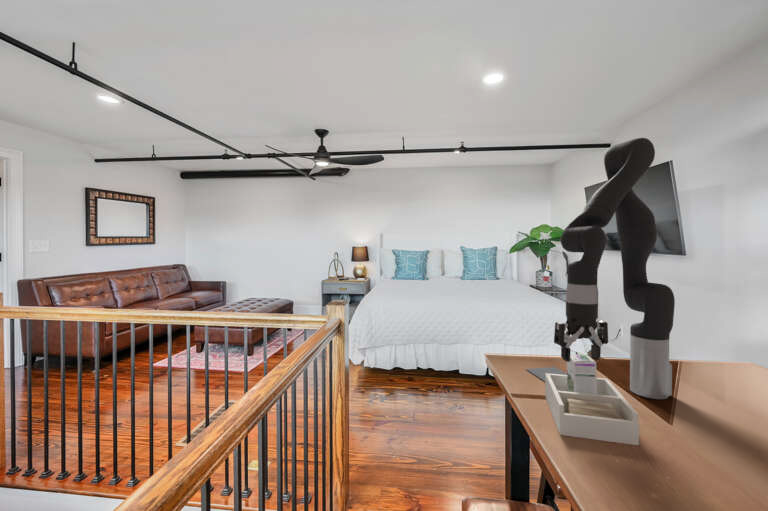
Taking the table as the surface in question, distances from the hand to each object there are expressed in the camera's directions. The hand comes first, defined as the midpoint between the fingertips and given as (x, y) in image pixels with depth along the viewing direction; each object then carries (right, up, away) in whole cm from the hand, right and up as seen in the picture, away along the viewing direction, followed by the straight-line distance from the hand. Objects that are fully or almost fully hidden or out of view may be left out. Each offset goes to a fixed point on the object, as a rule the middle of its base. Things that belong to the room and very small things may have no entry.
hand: (580, 360), depth 92 cm
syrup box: (0, -14, 0) cm, 14 cm away
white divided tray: (-1, -14, -3) cm, 14 cm away
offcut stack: (-2, -14, -9) cm, 17 cm away
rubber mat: (+4, -13, +25) cm, 28 cm away
